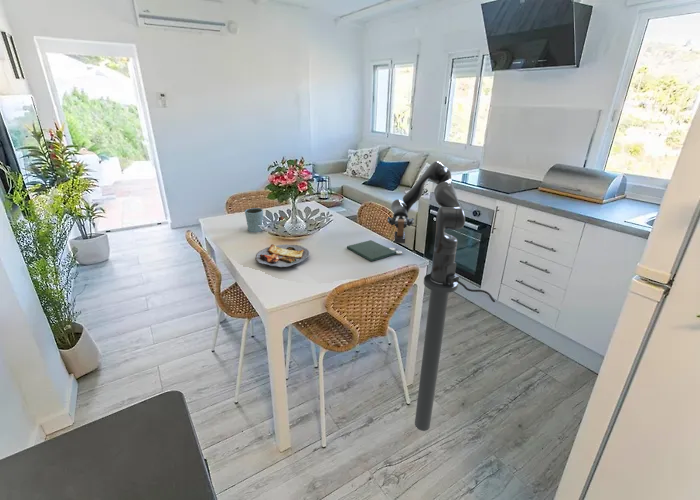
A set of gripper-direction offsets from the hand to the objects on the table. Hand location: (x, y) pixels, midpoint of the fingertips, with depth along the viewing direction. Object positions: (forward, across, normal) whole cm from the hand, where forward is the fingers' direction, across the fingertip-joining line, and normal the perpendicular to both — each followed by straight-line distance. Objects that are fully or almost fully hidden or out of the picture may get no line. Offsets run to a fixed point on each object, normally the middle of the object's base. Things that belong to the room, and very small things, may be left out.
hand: (400, 225), depth 168 cm
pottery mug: (-29, -68, +14) cm, 75 cm away
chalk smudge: (-5, -3, +15) cm, 16 cm away
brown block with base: (-3, 0, +8) cm, 8 cm away
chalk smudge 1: (-1, 0, +15) cm, 15 cm away
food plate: (+15, -55, +15) cm, 59 cm away
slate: (-1, -14, +15) cm, 20 cm away
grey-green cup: (-22, -82, +14) cm, 87 cm away
